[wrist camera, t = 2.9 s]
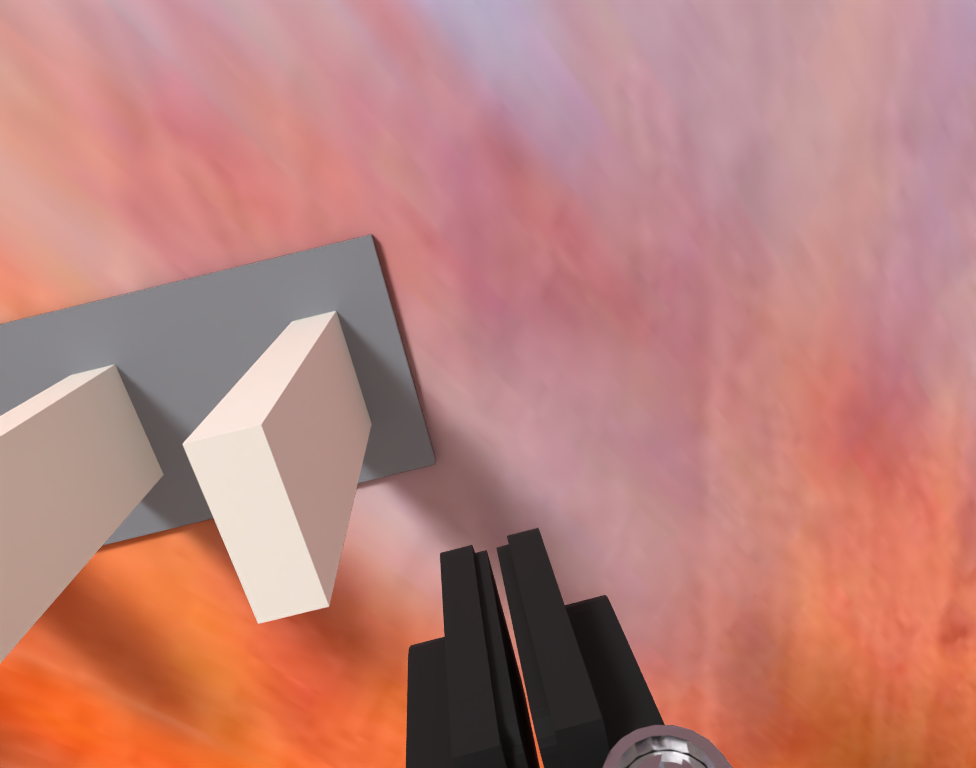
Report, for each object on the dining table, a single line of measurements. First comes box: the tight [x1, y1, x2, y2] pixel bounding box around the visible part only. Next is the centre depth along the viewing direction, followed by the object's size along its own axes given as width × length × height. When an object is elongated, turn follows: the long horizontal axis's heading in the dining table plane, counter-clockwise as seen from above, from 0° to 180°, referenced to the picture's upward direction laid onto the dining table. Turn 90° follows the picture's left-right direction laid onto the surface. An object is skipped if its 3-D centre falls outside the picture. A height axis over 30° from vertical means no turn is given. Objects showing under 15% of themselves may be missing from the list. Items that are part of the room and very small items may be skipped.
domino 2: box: [182, 311, 372, 624], centre depth 21 cm, size 2×5×12 cm, turn 13°
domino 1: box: [0, 364, 164, 663], centre depth 21 cm, size 2×5×12 cm, turn 13°
